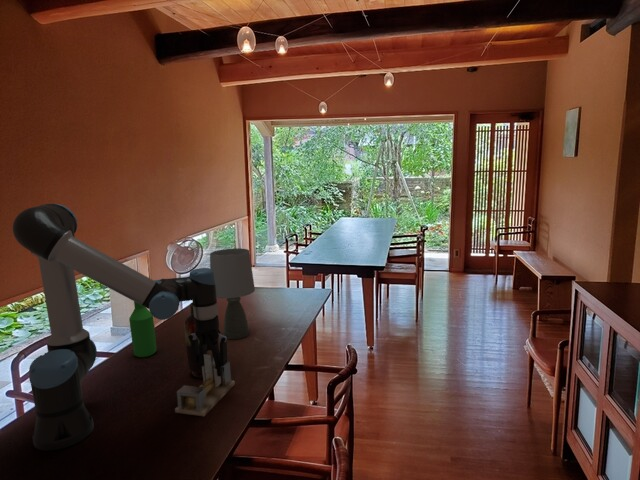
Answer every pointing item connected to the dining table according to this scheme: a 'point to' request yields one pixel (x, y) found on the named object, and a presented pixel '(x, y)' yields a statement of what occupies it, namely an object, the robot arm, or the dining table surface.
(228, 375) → the socket
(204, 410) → the plank
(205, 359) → the slide bolt
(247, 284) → the lamp
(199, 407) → the sleeve
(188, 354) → the vase
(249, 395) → the dining table surface
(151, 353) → the bottle
